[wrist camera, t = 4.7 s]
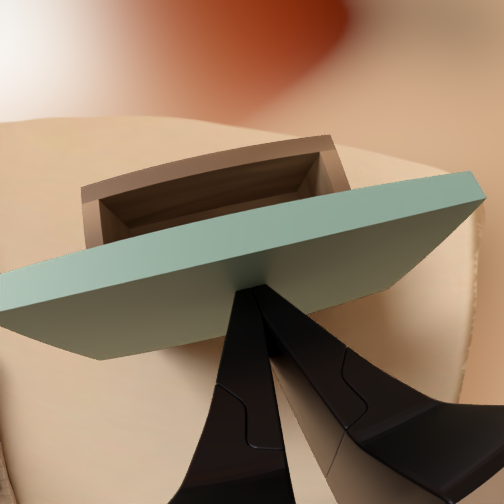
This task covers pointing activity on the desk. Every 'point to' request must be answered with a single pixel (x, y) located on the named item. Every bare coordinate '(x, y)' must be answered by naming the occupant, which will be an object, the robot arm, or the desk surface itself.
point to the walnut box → (210, 187)
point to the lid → (233, 267)
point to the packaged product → (5, 483)
